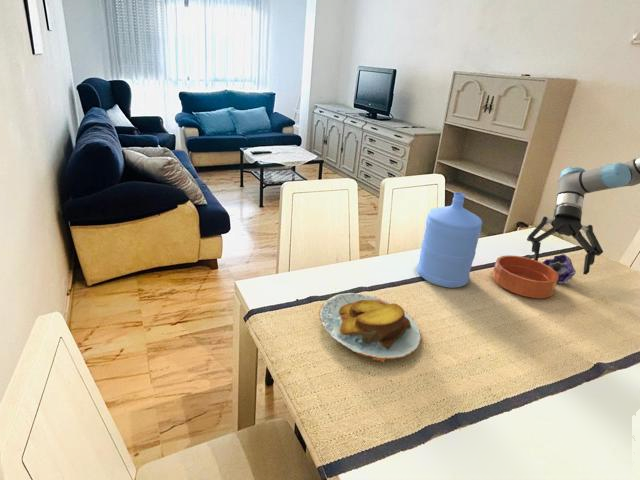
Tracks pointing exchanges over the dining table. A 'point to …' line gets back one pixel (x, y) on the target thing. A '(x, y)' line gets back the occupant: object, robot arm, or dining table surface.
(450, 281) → the water jug
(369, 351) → the food on plate
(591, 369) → the dining table surface
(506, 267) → the pot
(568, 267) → the flower
